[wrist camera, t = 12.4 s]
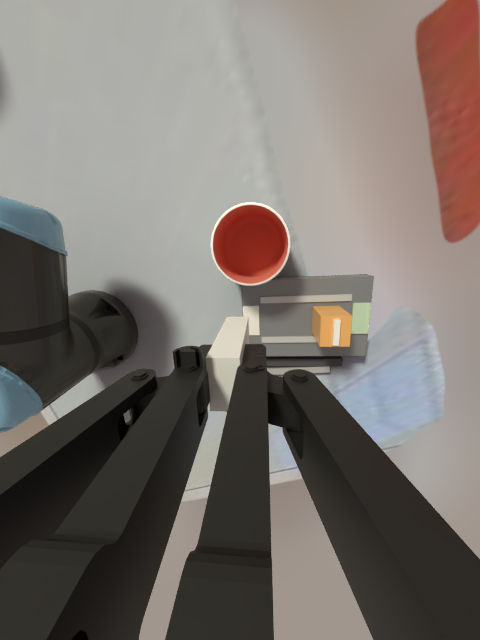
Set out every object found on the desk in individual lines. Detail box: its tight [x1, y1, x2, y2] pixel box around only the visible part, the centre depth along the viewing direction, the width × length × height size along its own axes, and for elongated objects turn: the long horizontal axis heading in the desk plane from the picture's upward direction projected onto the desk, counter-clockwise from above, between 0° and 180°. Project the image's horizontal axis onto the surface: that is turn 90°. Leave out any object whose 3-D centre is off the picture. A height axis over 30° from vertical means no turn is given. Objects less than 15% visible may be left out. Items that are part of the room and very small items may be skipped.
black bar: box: [266, 356, 343, 366], centre depth 44 cm, size 16×1×1 cm, turn 93°
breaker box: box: [241, 274, 374, 356], centre depth 40 cm, size 20×13×3 cm, turn 93°
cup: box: [211, 202, 291, 286], centre depth 35 cm, size 10×10×10 cm
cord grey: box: [267, 366, 330, 375], centre depth 45 cm, size 14×1×1 cm, turn 96°
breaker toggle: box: [312, 306, 352, 347], centre depth 35 cm, size 4×4×7 cm
